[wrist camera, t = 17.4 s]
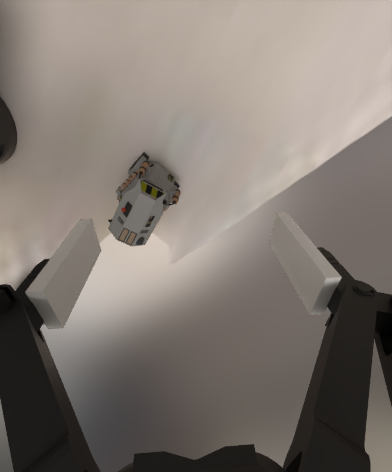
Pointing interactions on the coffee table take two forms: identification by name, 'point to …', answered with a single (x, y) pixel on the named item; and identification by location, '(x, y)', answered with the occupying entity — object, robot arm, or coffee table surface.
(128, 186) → the figurine
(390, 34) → the coffee table surface
